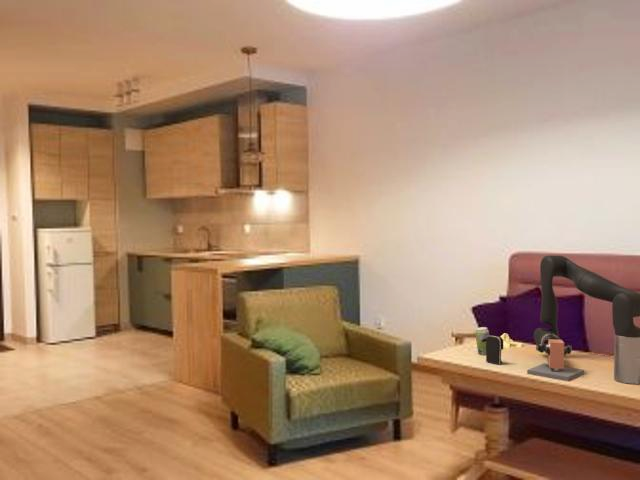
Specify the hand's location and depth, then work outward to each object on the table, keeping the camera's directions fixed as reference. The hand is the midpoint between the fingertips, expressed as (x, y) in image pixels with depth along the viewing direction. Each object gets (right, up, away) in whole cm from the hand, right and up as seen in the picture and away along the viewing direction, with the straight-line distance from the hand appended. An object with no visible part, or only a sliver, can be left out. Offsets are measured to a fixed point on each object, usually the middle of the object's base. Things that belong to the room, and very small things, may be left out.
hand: (556, 352), depth 241 cm
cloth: (-4, -8, +59) cm, 60 cm away
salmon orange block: (+1, -6, +3) cm, 7 cm away
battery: (-18, -8, +21) cm, 29 cm away
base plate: (+1, -9, +3) cm, 9 cm away
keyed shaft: (+1, -7, +3) cm, 8 cm away
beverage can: (-19, -8, +38) cm, 43 cm away
